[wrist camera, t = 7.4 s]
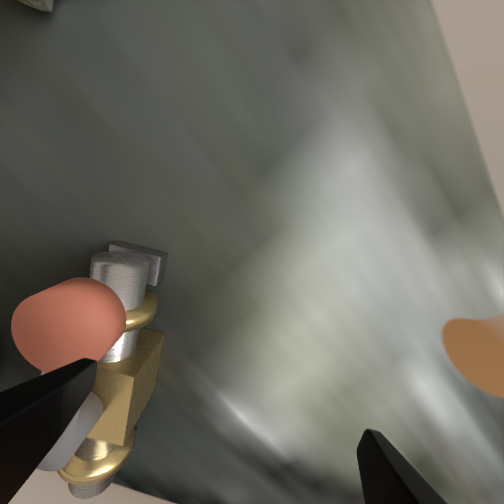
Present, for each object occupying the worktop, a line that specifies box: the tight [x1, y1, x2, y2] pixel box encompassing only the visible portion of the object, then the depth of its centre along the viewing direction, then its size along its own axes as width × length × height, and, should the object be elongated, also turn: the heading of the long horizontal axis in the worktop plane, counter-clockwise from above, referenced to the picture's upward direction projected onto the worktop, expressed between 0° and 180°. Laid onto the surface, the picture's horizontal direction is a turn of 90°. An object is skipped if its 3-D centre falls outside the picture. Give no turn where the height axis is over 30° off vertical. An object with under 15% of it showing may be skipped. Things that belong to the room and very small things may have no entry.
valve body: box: [57, 241, 168, 499], centre depth 20 cm, size 20×6×6 cm, turn 166°
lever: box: [11, 277, 127, 471], centre depth 15 cm, size 12×4×4 cm, turn 162°
